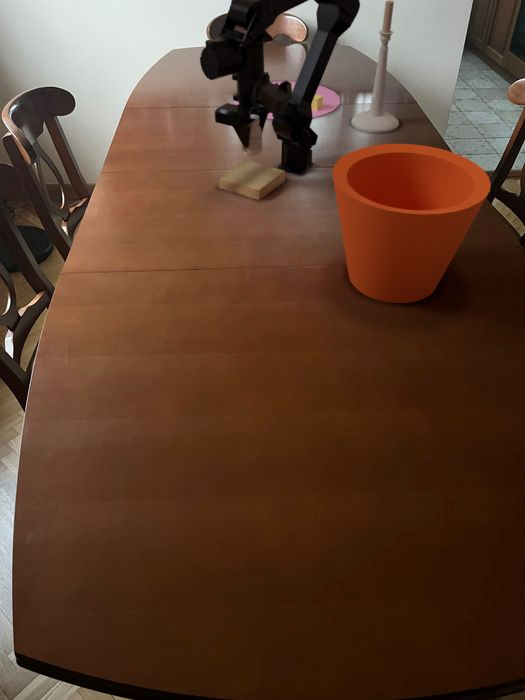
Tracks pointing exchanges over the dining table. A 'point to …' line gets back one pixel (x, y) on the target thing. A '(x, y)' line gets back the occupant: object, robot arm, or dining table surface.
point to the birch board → (252, 179)
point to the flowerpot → (404, 216)
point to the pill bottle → (254, 138)
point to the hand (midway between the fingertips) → (252, 143)
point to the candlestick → (379, 87)
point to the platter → (317, 101)
